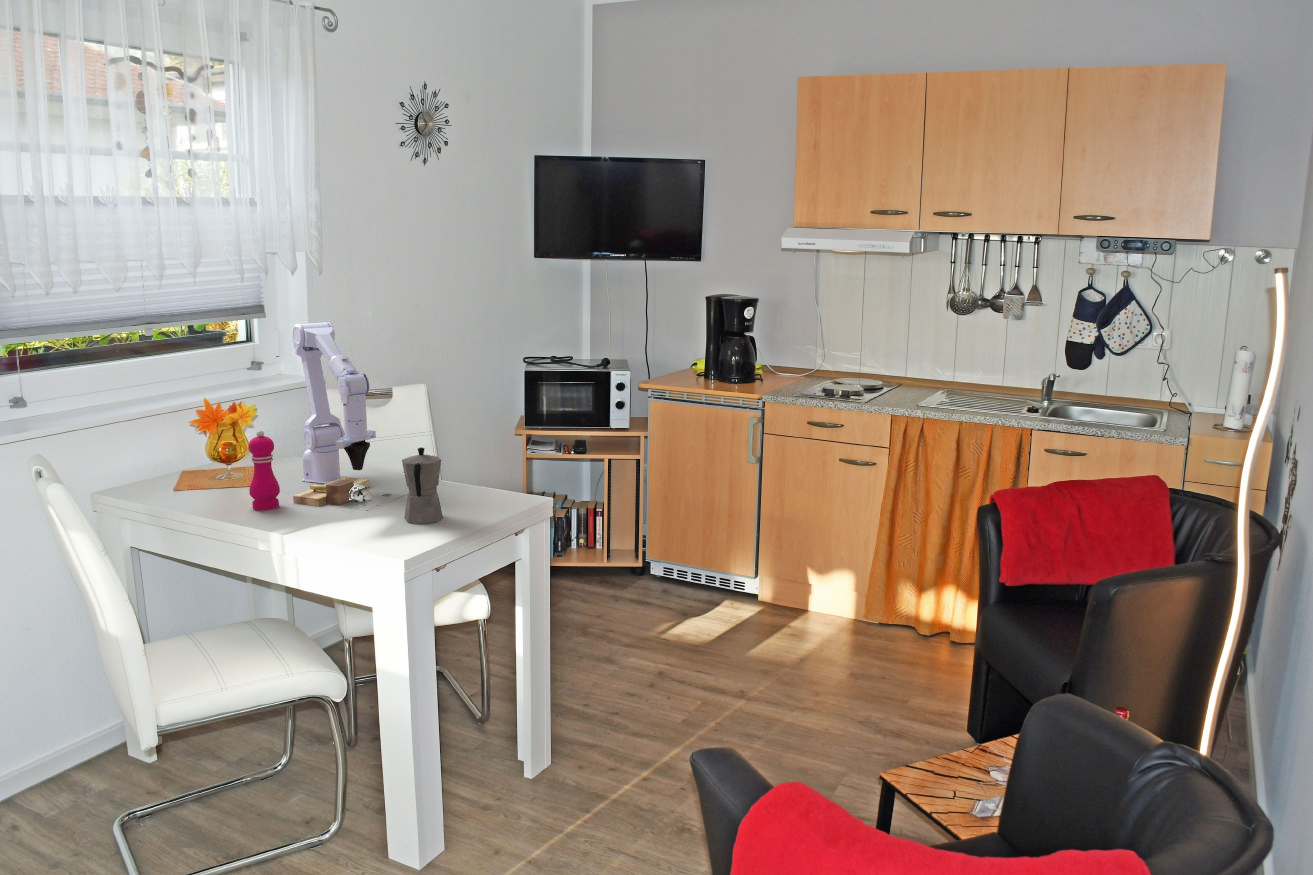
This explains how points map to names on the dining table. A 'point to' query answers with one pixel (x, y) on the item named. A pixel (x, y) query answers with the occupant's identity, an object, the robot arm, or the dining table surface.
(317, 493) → the board
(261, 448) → the pepper mill
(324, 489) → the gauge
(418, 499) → the coffeepot
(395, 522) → the dining table surface
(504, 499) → the dining table surface
